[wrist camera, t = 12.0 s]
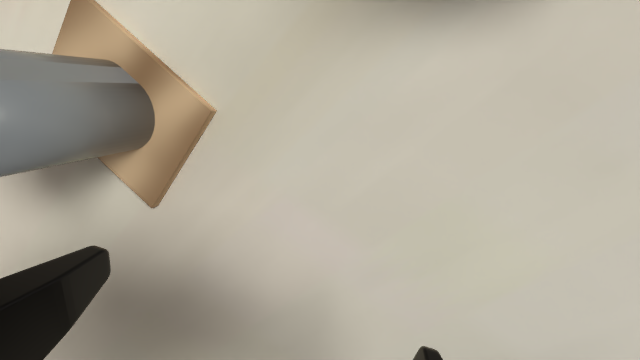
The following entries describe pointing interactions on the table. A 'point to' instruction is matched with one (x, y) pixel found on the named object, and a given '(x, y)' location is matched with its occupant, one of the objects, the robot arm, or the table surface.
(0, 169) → the grey tall rounded piece
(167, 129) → the cork pad
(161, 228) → the table surface
